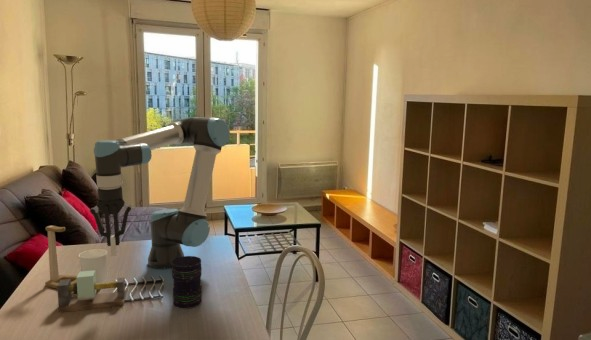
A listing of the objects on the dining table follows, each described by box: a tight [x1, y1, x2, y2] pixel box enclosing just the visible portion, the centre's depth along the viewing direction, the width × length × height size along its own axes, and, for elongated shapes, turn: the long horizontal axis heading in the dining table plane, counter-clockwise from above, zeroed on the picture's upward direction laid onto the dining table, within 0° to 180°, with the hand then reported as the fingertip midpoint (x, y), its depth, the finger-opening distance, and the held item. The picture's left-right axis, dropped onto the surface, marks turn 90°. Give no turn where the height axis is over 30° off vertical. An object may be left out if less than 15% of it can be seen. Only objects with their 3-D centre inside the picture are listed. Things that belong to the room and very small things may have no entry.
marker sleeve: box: [76, 270, 98, 298], centre depth 143 cm, size 5×5×7 cm
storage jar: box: [171, 255, 203, 310], centre depth 146 cm, size 10×10×15 cm
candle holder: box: [78, 248, 108, 283], centre depth 159 cm, size 10×10×12 cm
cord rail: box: [56, 277, 127, 313], centre depth 144 cm, size 20×8×8 cm, turn 107°
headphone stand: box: [44, 225, 77, 290], centre depth 158 cm, size 10×11×22 cm
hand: (114, 254), depth 144 cm, fingers closed
